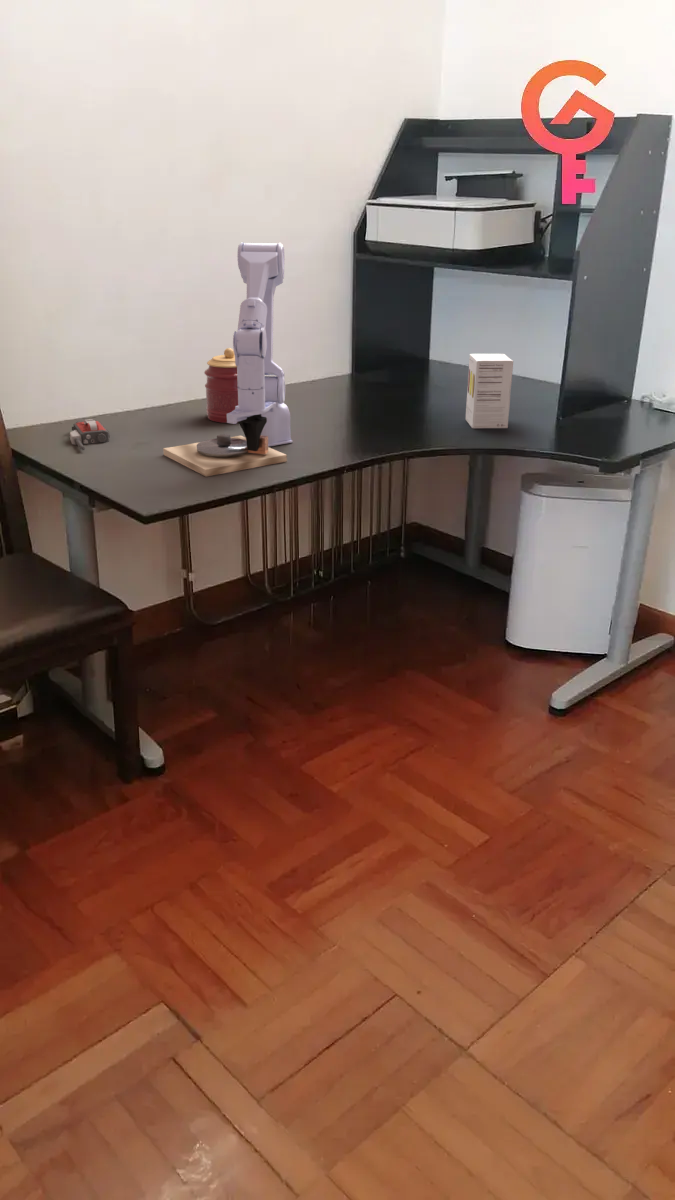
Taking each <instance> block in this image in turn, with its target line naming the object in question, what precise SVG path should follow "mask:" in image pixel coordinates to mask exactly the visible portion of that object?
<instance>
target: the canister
mask: <svg viewBox="0 0 675 1200" xmlns="http://www.w3.org/2000/svg"><path fill="white" fill-rule="evenodd" d="M206 364H207V365H208V368H206V369H205V370H204V372H203V373H204V375H205V376H206V383H205V384H204V387H205V396H206V397H205V399H206V408H205V409H206V416H207V419H208V420H210V421H211V422H216V423H223V424H228V423H227V414H228V413H230V412H232V411H234V410H235V406H238V381H237V366H236V364H235V355H234V350H233V348H231V347H227V348H225V350H224V351H223V354H221V355H220V354H219V355H215V356H213V357H211V359H210V360H208V361H207V362H206ZM236 424H239V423H238V422H237V423H236Z"/></svg>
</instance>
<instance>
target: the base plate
mask: <svg viewBox="0 0 675 1200" xmlns="http://www.w3.org/2000/svg"><path fill="white" fill-rule="evenodd" d="M261 436H262V435H261ZM216 438H217V444H218V445H230V444H231V438H237V439H243V440H246V437H245V436H243V435H235V436H231V435H230V434H227V433H226V434H225V433H223V434H222V433H221V434H218V435H216ZM200 442H201V441H200ZM200 442H193V443H188V444H182V445H176V446H170V447H163V448H162V451H163V455H164V456H165V457H167V458H169V459H171V460H173V461H175V462H177V463H179V464H180V465H183V466H184V467H187V468H188V469H190V470H192V471H195V472H196V473H198V474H201V475H202V476H204V477H205V478H206V477H211V476H217V475H222V474H227V473H232V472H238V471H244V470H247V469H248V470H249V469H255V468H258V467H259V468H260V467H264V466H265V467H266V466H269V465H274V464H280V463H285V462H288V460H287V459H288V458H287V457H288V455H287V454H286V453H284V452H280V451H278V450H276V449H274V448H271V447H270V446H269V447H268V452H267V453H266V454H258V453H246V454H242V455H238V456H230V457H213V456H206V455H202V454H200V453H198V452H197V444H198V443H200Z"/></svg>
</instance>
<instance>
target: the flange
mask: <svg viewBox="0 0 675 1200" xmlns="http://www.w3.org/2000/svg"><path fill="white" fill-rule="evenodd" d="M197 443H198V444H197V452H198V453H200V454H202V455H206V456H213V457H230V456H238V455H242V454H246V453H258V454H266V453H267V452H268V436H260V440H259V449H258V451H251V450H248V448H247V441H246V440H243V439H237V438H231V444H230V445H218V444H217V437H216V438H211V439H206V440H202V441H200V443H199V442H197Z"/></svg>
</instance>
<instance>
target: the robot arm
mask: <svg viewBox="0 0 675 1200" xmlns="http://www.w3.org/2000/svg"><path fill="white" fill-rule="evenodd" d="M285 260H286V258H285V247H284V245H283V243H282V242H277V243H275V242H274V243H273V242H271V243H269V242H267V243H266V242H265V243H264V242H244V241H241V242H240V243H239V244H238V247H237V266H238V270H239V272H240V276H241V279H242V281H243V283H244V284H246V299H244V300H242V302H241V303H240V306H239V314H238V325H237V330H236V331H235V330H234V332H233V334H232V336H233V337H232V349H233V350H234V355H235V364H236V366H237V381H238V406H235V410H234V411H232V412H230V413H228V414H227V423H226V424H230V425H231V424H232V425H236V424H238V425H239V426H240V428H241V430H242V432H243V435H244V437H246V441H247V448H248V450H251V451H258V449H259V440H260V436H261V435H262V436H268V447H269V448H270V447H274V446H279V445H286V444H291V443H293V439H292V438H291V437H292V436H291V435H292V434H291V431H292V430H291V412H290V410H289V406H287V404H286V403H285V399H286V398H285V397H286V381H285V372H284V369H283V368H282V367H281V366H280V365H278V364H277V363H276V362H274V355H273V354H274V353H273V352H274V297H275V292H276V289H277V287H278V286H280V285H282V284H283V283H284V279H285ZM237 422H238V423H237Z"/></svg>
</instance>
